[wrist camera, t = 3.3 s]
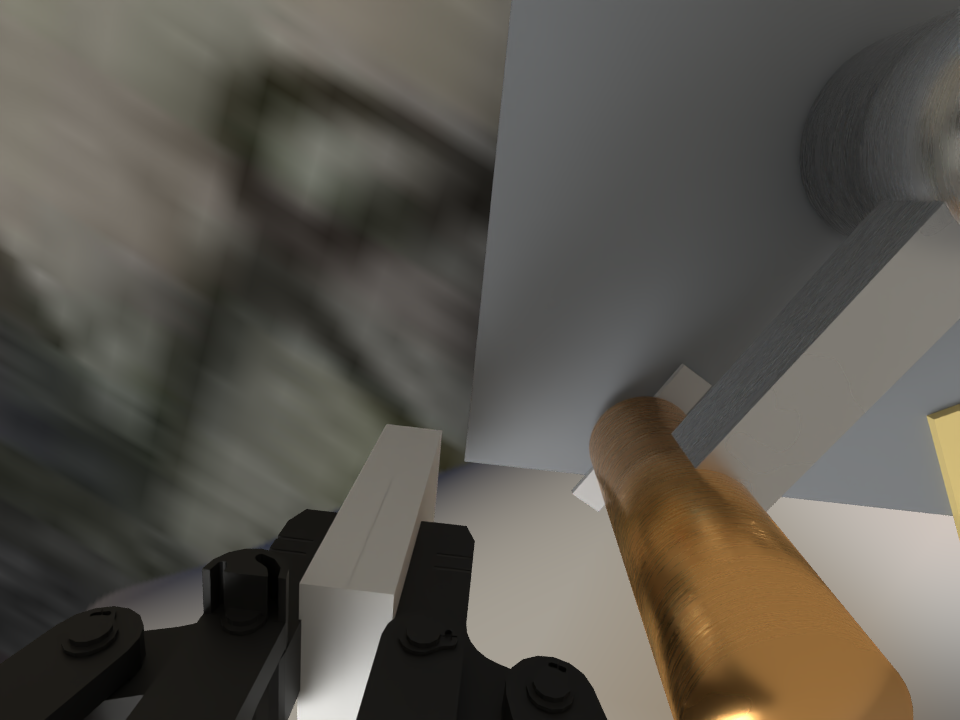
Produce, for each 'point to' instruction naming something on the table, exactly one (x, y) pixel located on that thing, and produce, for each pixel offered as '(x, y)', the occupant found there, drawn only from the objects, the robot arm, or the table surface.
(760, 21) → the base plate
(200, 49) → the table surface
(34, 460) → the table surface
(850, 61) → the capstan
